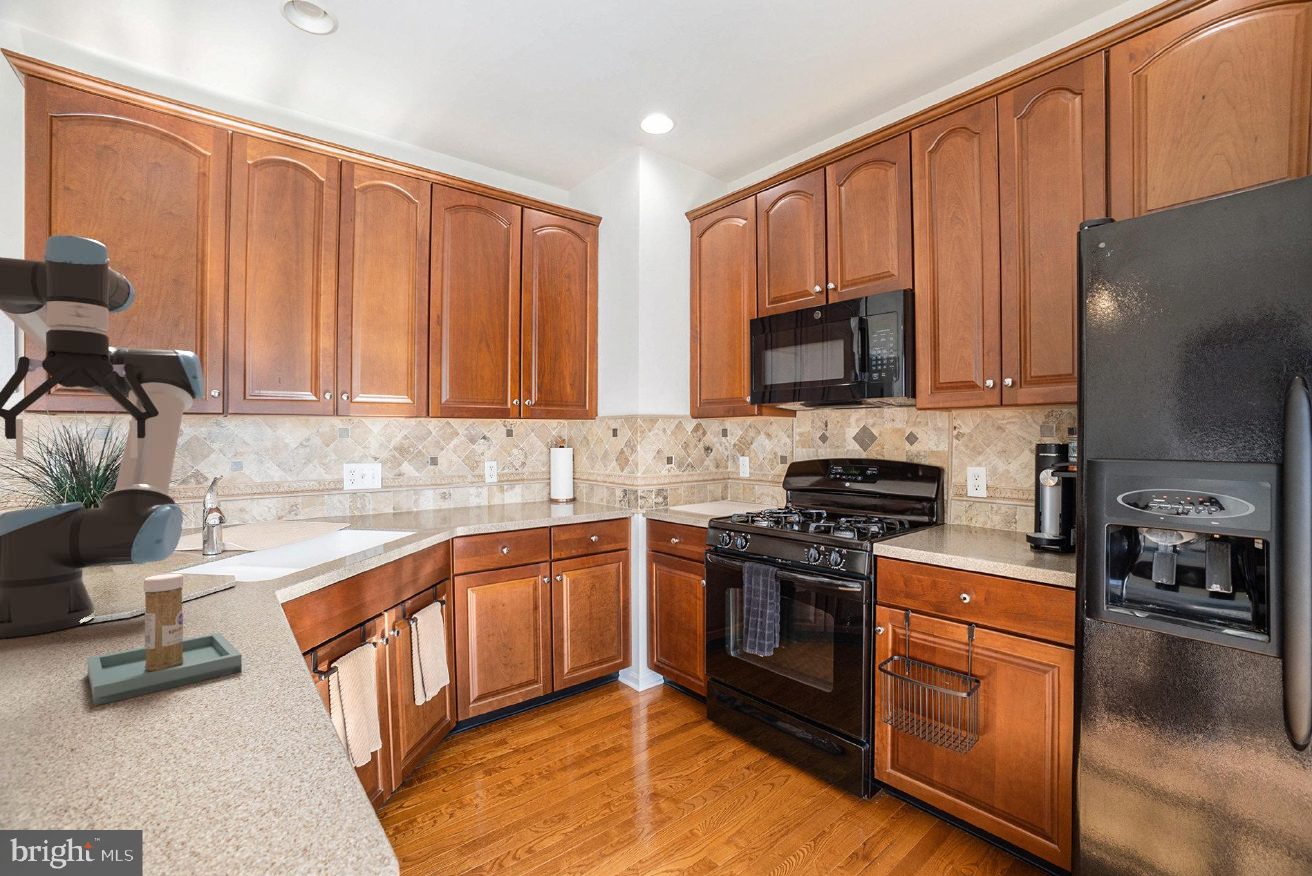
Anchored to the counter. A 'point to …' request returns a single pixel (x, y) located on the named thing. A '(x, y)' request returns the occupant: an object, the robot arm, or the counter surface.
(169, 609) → the sprinkles bottle
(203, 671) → the tray
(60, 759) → the counter surface
